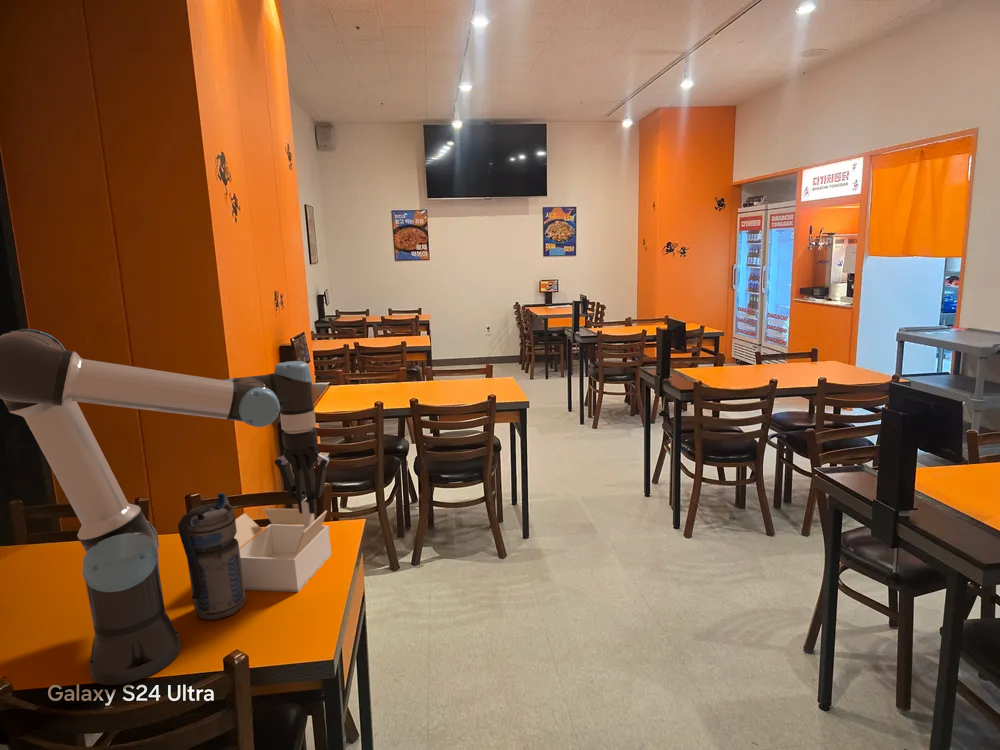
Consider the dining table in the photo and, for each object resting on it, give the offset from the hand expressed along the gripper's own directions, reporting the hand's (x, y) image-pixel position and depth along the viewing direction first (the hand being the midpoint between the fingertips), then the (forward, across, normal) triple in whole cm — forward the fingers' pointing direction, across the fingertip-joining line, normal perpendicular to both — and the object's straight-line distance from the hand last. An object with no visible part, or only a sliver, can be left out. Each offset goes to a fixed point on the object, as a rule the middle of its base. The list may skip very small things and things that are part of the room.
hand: (309, 525), depth 146 cm
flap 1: (+2, +10, -8) cm, 13 cm away
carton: (+13, +11, -2) cm, 17 cm away
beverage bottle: (+13, +14, +16) cm, 26 cm away
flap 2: (+1, 0, 0) cm, 1 cm away
